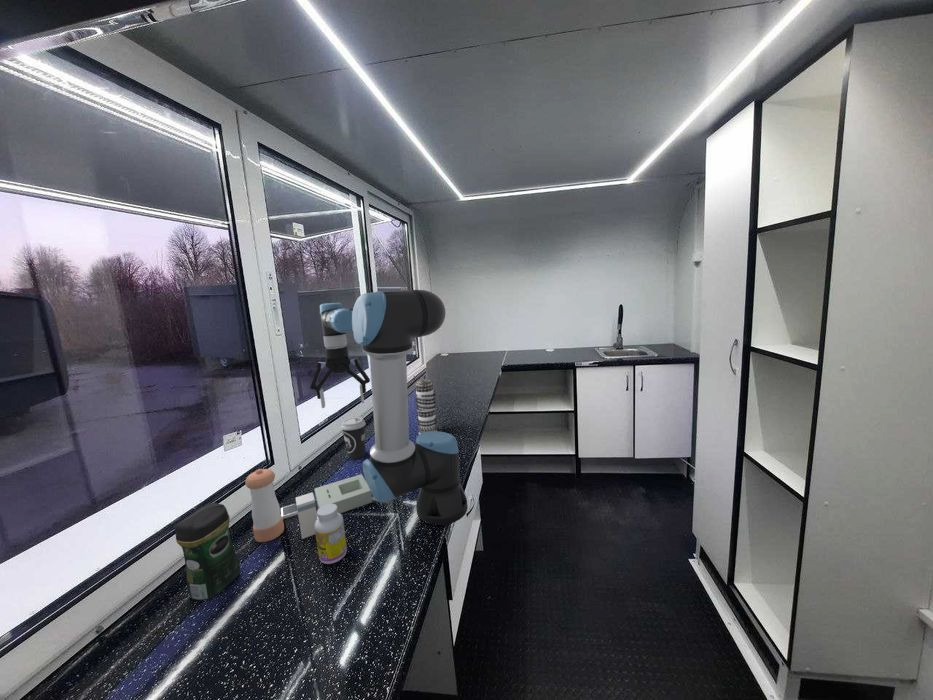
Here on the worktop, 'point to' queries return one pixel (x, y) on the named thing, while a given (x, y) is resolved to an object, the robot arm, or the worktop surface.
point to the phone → (289, 511)
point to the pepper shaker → (264, 506)
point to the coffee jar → (207, 551)
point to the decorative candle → (425, 406)
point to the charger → (306, 514)
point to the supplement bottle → (330, 534)
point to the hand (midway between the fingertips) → (343, 404)
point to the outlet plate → (344, 494)
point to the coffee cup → (354, 437)
